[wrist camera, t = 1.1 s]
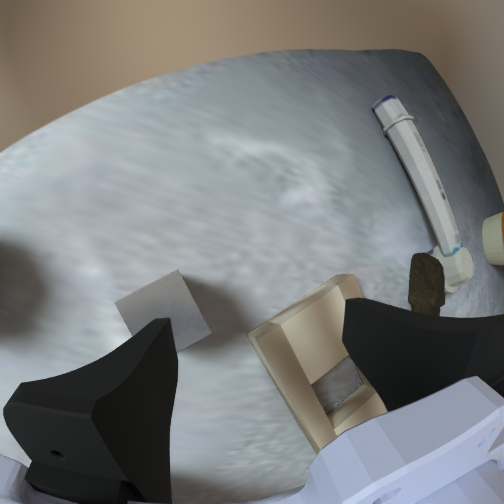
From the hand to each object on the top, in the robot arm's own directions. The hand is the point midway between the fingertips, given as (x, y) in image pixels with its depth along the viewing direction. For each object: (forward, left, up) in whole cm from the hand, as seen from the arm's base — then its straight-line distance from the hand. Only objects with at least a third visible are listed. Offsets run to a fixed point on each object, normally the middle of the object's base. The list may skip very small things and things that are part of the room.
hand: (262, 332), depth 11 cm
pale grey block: (-3, +2, -11) cm, 12 cm away
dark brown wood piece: (+19, -15, -12) cm, 27 cm away
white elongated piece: (+28, -1, -12) cm, 30 cm away
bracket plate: (+7, -12, -11) cm, 18 cm away
